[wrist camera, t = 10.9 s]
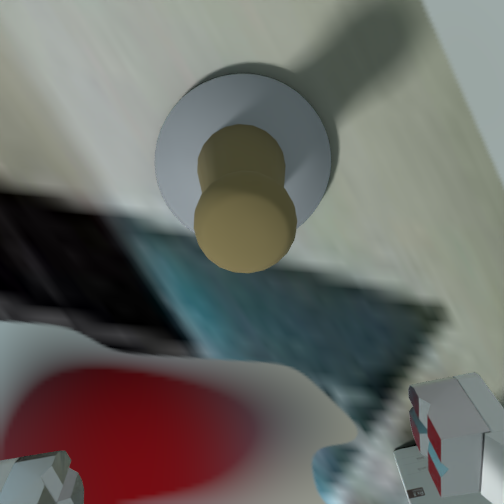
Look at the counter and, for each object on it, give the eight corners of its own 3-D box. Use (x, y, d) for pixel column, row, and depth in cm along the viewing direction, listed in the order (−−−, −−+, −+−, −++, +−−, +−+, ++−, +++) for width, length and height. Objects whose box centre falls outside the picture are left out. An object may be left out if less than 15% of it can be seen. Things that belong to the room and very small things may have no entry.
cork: (207, 113, 30) (196, 161, 20) (296, 136, 31) (327, 193, 21) (188, 199, 33) (171, 278, 23) (271, 218, 33) (289, 302, 24)
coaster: (181, 255, 35) (180, 260, 35) (133, 94, 30) (131, 95, 29) (337, 225, 35) (339, 229, 34) (317, 55, 29) (319, 56, 29)
